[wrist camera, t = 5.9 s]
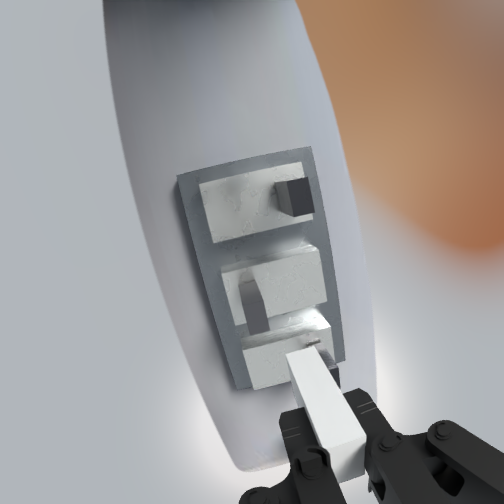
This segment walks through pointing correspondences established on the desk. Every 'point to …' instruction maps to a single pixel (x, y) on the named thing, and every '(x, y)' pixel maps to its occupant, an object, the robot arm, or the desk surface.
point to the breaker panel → (257, 249)
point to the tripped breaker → (253, 308)
